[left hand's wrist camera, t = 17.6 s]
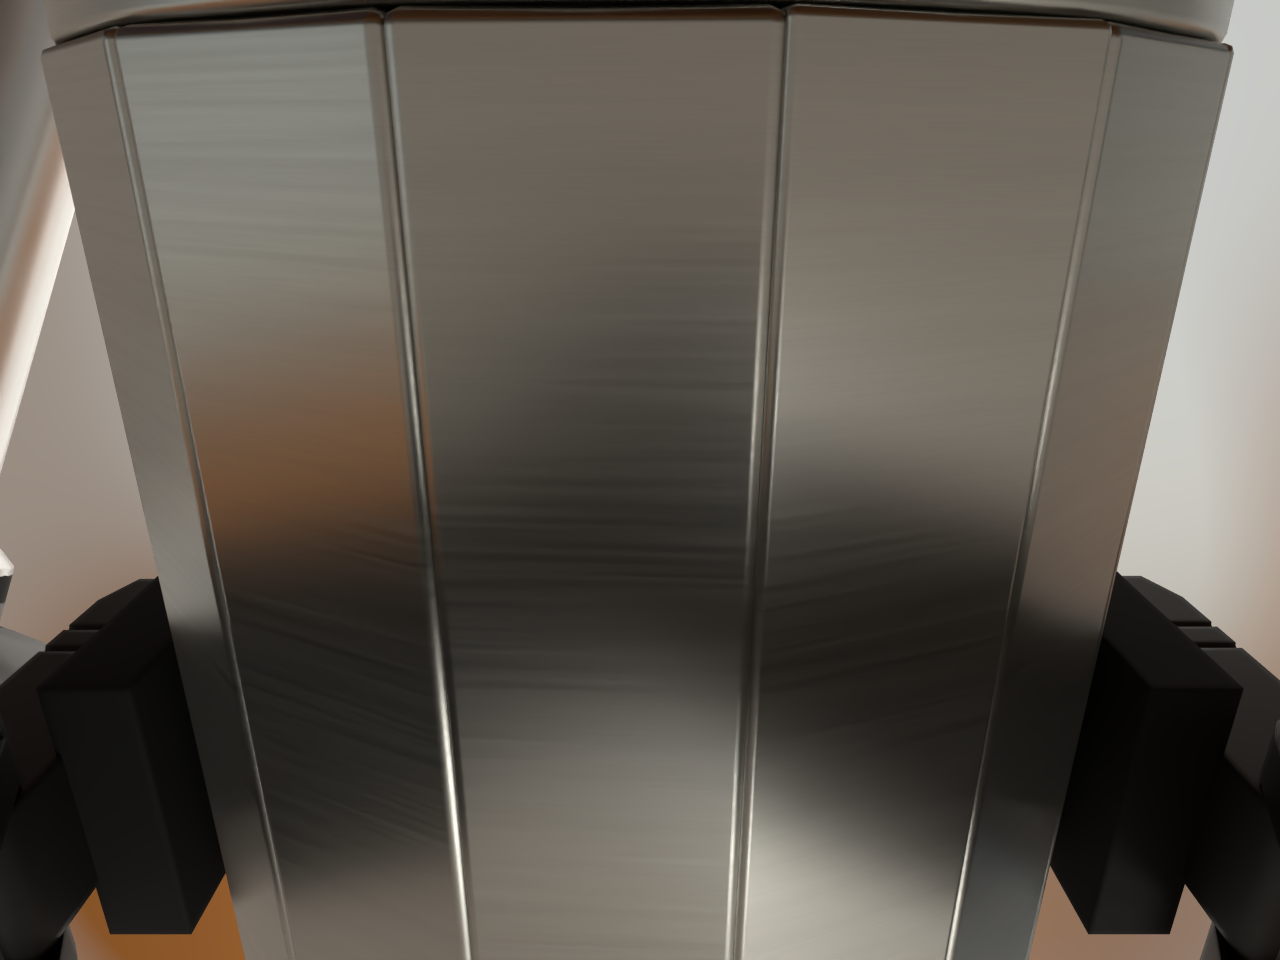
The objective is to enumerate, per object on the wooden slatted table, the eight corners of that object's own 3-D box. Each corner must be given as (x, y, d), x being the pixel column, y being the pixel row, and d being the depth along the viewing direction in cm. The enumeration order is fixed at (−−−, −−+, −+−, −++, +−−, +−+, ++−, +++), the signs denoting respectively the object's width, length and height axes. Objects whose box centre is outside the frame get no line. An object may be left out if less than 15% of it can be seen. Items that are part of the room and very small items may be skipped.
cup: (1183, 18, 9) (1022, 804, 13) (499, 48, 12) (531, 664, 16) (1520, -397, 2) (939, 1633, 6) (-283, -62, 5) (98, 1076, 9)
